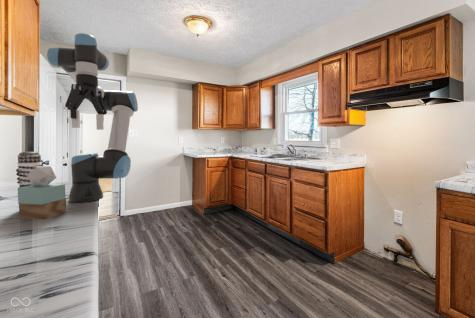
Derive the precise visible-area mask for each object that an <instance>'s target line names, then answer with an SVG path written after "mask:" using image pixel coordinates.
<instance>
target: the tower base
mask: <svg viewBox="0 0 475 318" xmlns="http://www.w3.org/2000/svg"><path fill="white" fill-rule="evenodd" d="M67 212H68V211H67V198H65V199H61V200H58V201H54V202H50V203H46V204H42V205H39V204H21V203H18V213H19V219H23V220H24V219H26V220H47V219H50V218H53V217H56V216H59V215H62V214H64V213H67Z"/></svg>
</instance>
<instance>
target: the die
mask: <svg viewBox="0 0 475 318" xmlns="http://www.w3.org/2000/svg"><path fill="white" fill-rule="evenodd" d="M27 177H28V179H29V180H30V182H31V184H32V186H47V185H49V184H52V182H54V181H55V180H56V179H57V176H56V174H55V172H54V170H53V168H52V166H51V165H50V166H48V165H46V166H44V165H43V166H37V167H36V168H35V169H33V170H32V171H31V172H29V173H28V174H27Z"/></svg>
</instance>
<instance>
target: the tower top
mask: <svg viewBox="0 0 475 318" xmlns="http://www.w3.org/2000/svg"><path fill="white" fill-rule="evenodd" d="M65 198H66V184H64V183H50V184H49V185H47V186H32V185H31V186H26V187H20V188H19V187H17V201H18V203H17V204H19V203H21V204H39V205H42V204H46V203H50V202H54V201H58V200H61V199H65ZM66 199H67V198H66Z"/></svg>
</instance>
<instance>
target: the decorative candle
mask: <svg viewBox="0 0 475 318" xmlns="http://www.w3.org/2000/svg"><path fill="white" fill-rule="evenodd" d="M41 157H42V155H41V154H40V153H39V152H37V151H21V152H19V153H18V155H17V161H18V162H17V163H16V164H17V168H16V170H15V171H16V172H17V173H16V174H15V175H16V176H18V177H17V178H16V180H17V182H16V183H17V185H19V187H18V188H20V187H26V186H31V185H32V184H31V182H30V180H29V179H28V177H27V174H28V173H29V172H31V171H32V170H33V169H35V168H36V167H37V166H44V164H42V160H41V159H42V158H41Z"/></svg>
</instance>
